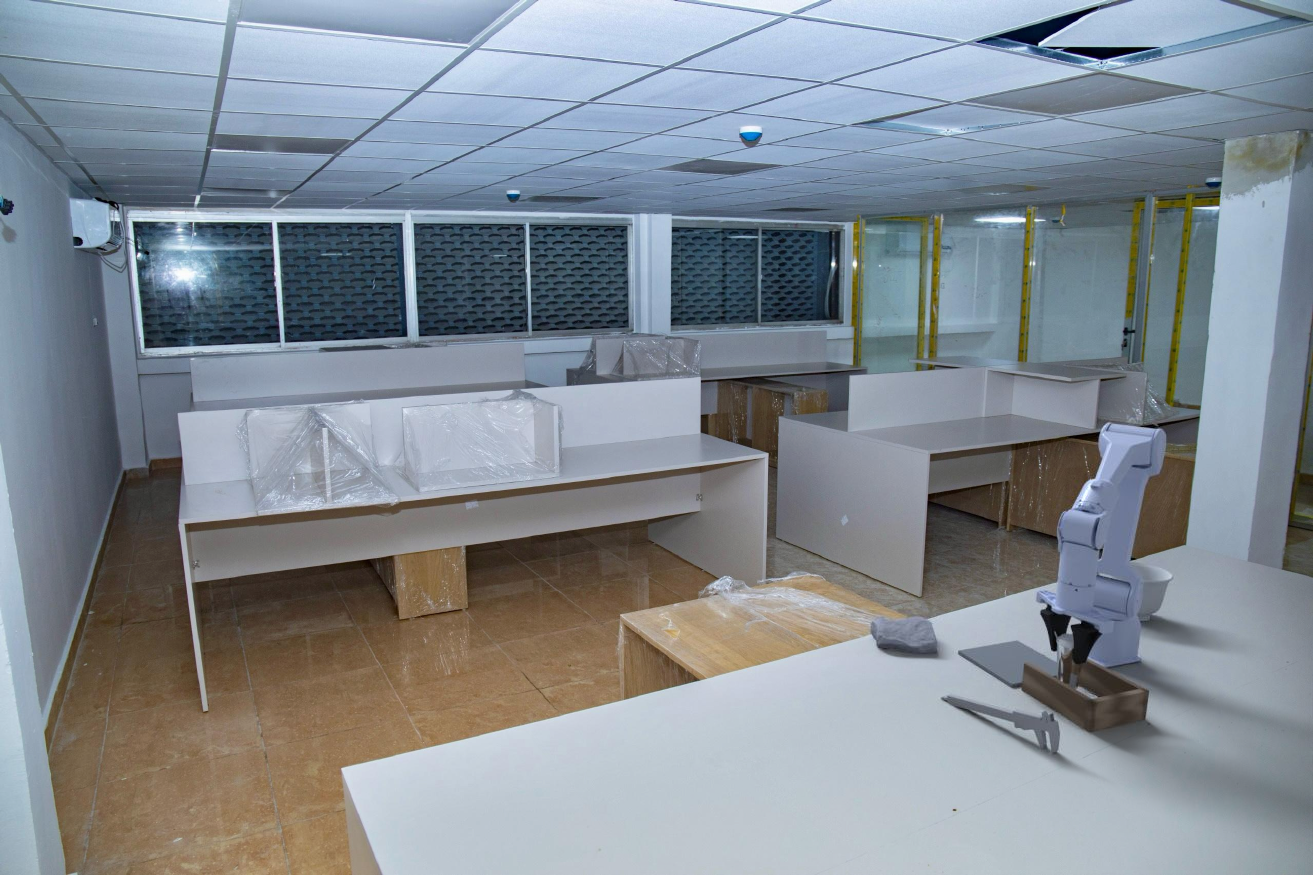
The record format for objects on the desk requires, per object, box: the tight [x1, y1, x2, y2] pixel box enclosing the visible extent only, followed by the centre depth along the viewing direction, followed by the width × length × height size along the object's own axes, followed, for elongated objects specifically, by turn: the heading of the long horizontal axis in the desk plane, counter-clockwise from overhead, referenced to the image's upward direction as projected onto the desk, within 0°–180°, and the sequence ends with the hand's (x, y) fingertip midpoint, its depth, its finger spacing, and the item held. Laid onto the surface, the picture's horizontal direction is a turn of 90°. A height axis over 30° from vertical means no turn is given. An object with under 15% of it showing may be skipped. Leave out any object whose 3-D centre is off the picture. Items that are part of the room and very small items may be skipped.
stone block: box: [870, 616, 938, 655], centre depth 167 cm, size 12×5×10 cm
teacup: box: [1097, 561, 1174, 622], centre depth 181 cm, size 12×15×10 cm
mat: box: [957, 640, 1057, 688], centre depth 158 cm, size 14×14×1 cm
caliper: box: [940, 693, 1061, 754], centre depth 137 cm, size 20×1×6 cm, turn 35°
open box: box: [1020, 658, 1150, 733], centre depth 143 cm, size 12×14×5 cm
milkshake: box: [1054, 631, 1082, 690], centre depth 146 cm, size 4×5×10 cm
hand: (1068, 656), depth 146 cm, fingers closed on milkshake, 4 cm apart
